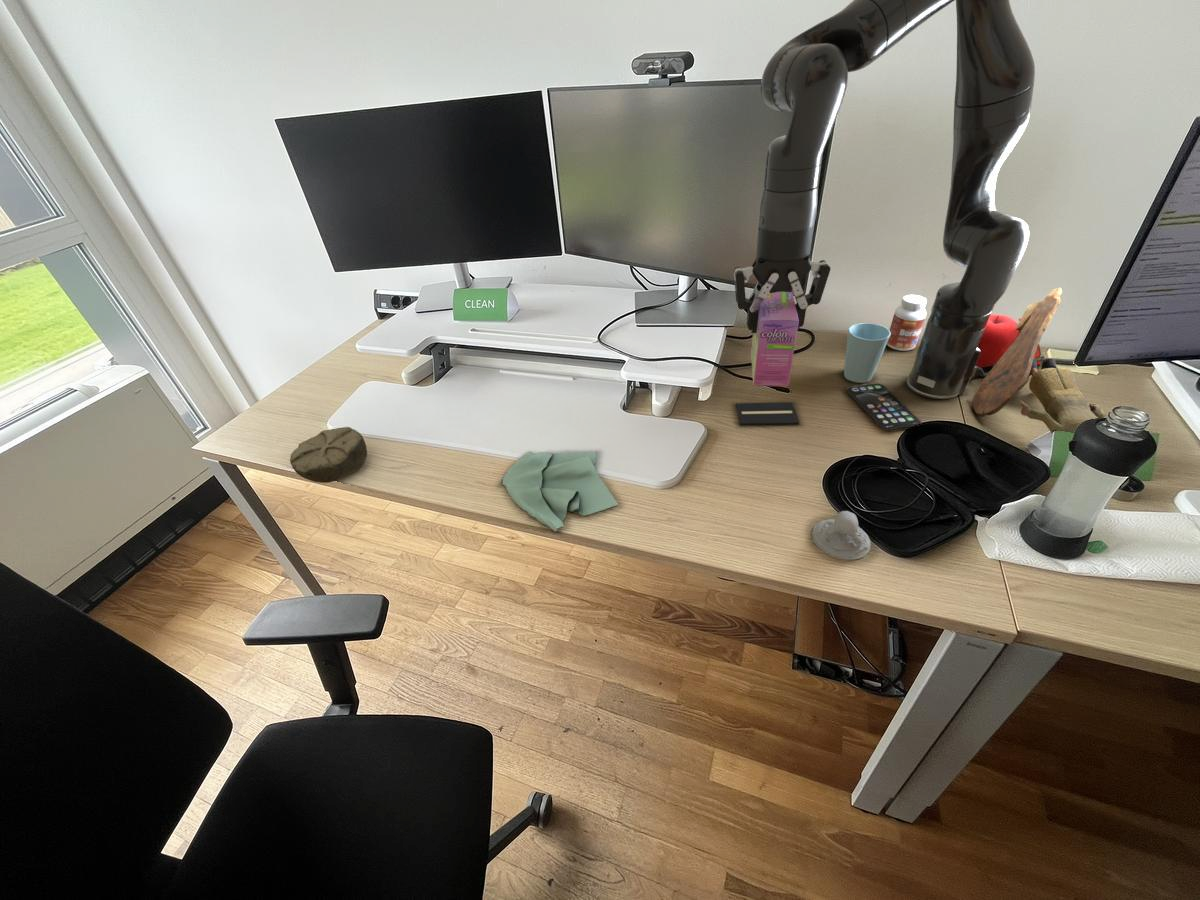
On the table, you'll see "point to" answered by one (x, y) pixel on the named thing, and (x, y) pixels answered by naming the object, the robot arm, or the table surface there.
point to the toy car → (1037, 353)
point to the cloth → (557, 486)
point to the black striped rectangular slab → (767, 413)
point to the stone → (329, 455)
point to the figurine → (1059, 399)
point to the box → (774, 340)
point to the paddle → (1016, 358)
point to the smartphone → (883, 407)
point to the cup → (864, 350)
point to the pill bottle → (907, 323)
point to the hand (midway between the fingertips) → (774, 329)
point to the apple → (996, 339)
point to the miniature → (842, 537)
